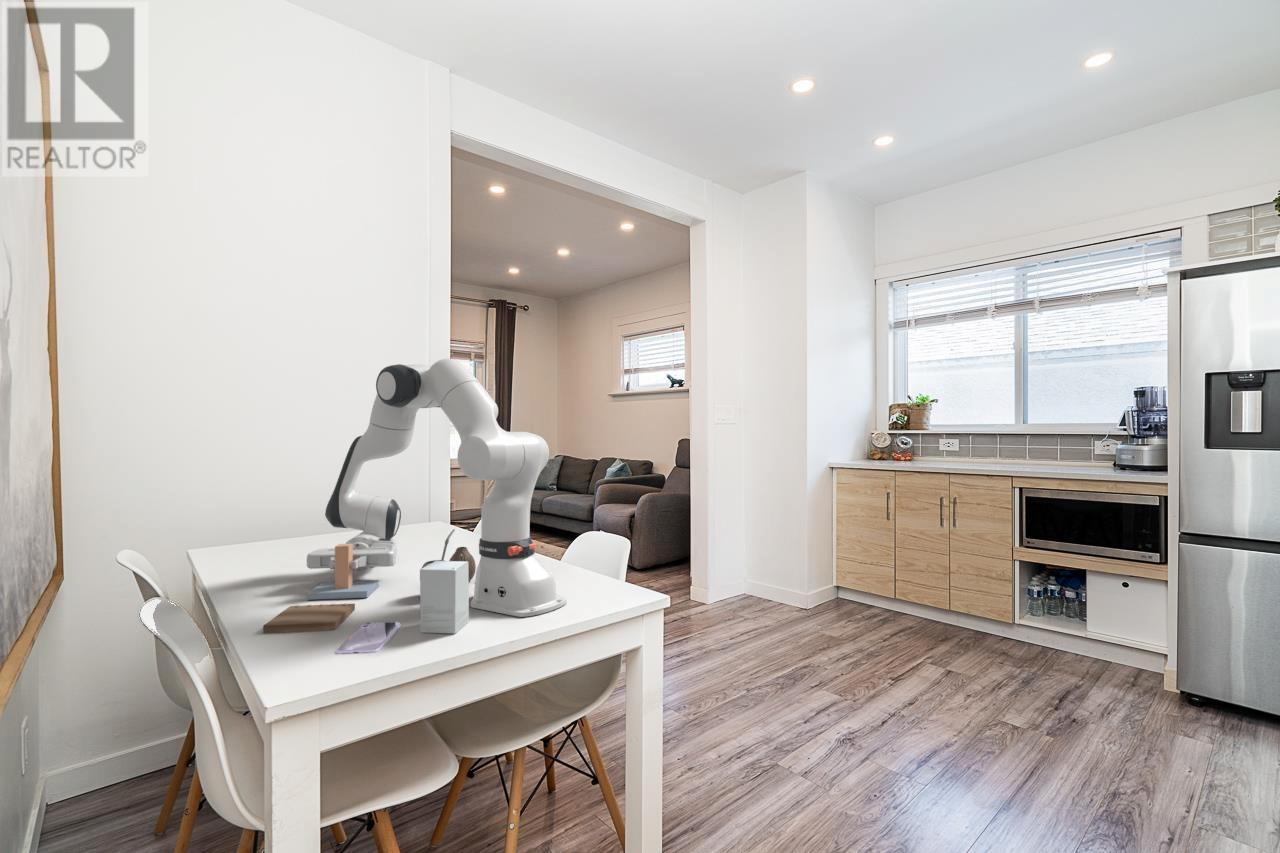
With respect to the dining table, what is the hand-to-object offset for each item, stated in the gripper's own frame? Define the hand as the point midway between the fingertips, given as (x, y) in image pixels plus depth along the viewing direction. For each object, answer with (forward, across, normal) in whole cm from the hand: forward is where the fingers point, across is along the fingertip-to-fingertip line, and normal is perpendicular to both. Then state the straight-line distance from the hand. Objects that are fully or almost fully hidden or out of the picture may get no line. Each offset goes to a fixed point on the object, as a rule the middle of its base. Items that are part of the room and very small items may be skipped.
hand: (342, 565), depth 138 cm
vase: (-8, +26, +7) cm, 28 cm away
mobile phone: (+30, +15, +8) cm, 34 cm away
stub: (-1, 0, +7) cm, 7 cm away
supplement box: (+26, +28, +7) cm, 38 cm away
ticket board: (+18, 0, +7) cm, 20 cm away
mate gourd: (+3, +22, +7) cm, 23 cm away
